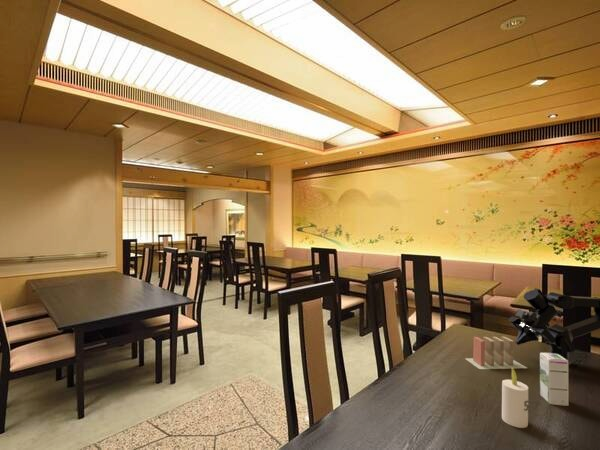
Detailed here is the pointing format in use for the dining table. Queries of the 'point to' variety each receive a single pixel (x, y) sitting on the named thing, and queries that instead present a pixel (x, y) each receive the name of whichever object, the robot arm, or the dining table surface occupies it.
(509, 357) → the domino
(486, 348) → the domino
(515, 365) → the mat
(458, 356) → the dining table surface
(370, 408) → the dining table surface
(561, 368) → the syrup box
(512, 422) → the candle
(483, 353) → the domino
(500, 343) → the domino
